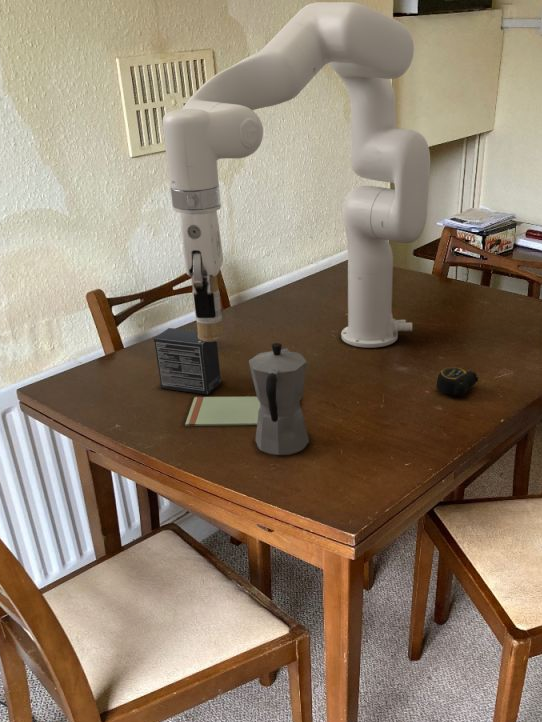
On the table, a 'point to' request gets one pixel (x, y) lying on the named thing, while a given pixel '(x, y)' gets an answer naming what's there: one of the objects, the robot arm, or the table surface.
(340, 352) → the table surface
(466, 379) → the tape measure
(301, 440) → the coffeepot
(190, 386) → the small box
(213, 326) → the sprinkles bottle
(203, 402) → the notebook
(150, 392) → the table surface
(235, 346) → the table surface
